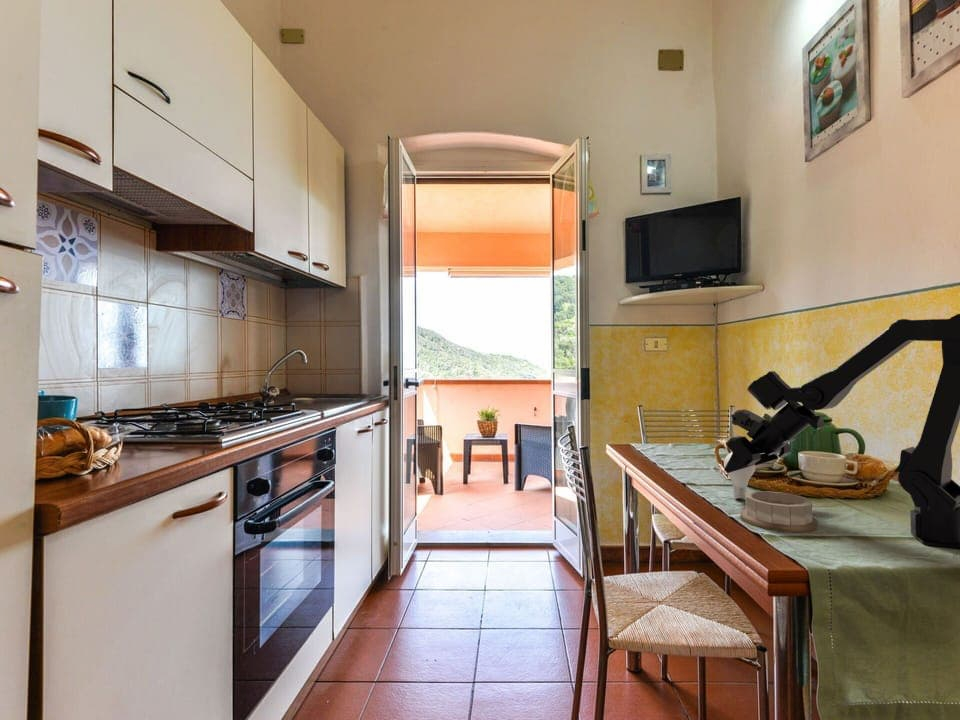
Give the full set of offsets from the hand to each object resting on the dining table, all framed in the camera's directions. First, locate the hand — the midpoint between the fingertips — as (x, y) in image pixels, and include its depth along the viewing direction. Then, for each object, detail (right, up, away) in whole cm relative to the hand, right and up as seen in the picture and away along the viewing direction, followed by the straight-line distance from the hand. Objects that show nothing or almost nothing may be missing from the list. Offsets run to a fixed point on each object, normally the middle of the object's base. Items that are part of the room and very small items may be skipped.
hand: (733, 469), depth 115 cm
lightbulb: (+1, -7, -1) cm, 7 cm away
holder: (0, -6, -17) cm, 18 cm away
